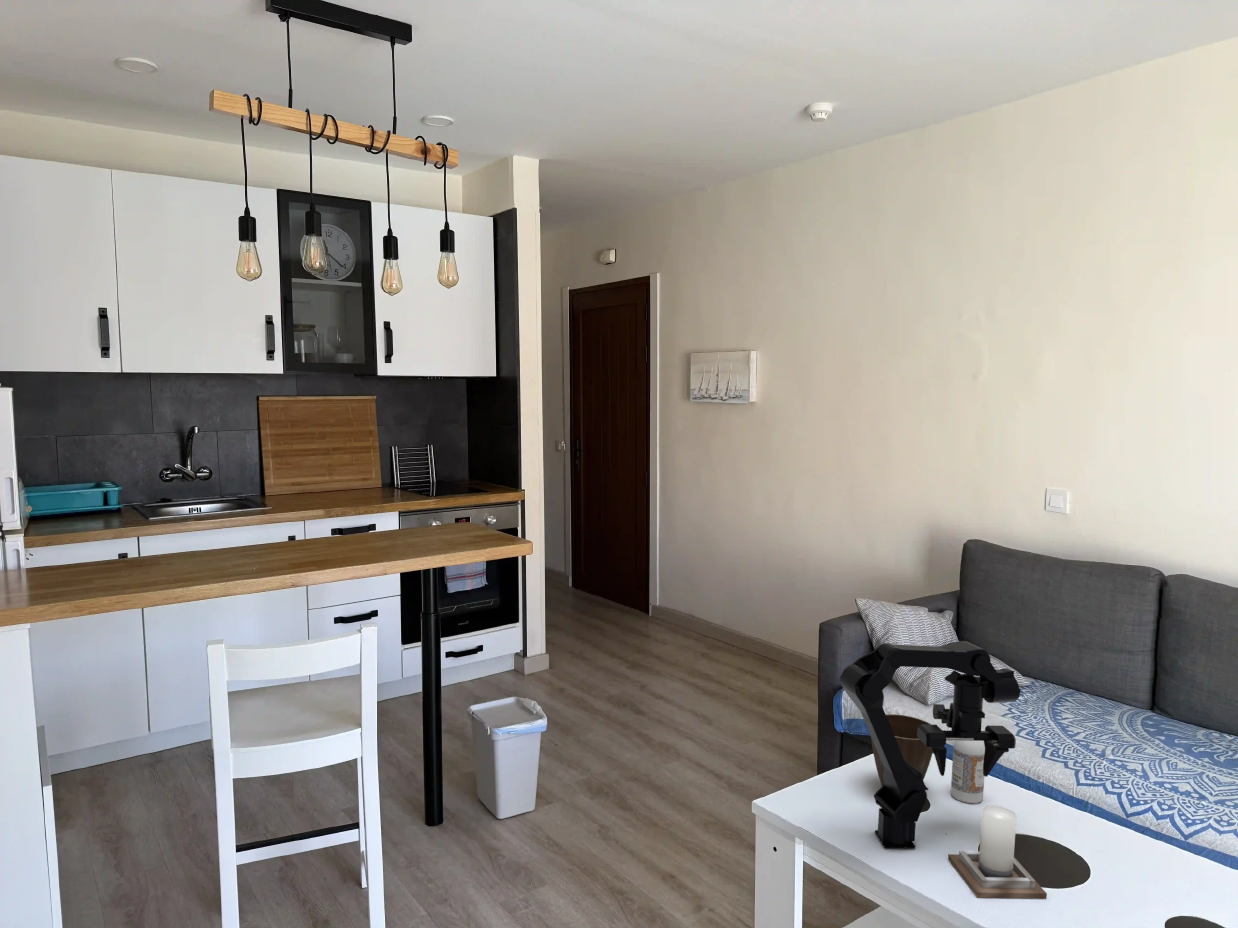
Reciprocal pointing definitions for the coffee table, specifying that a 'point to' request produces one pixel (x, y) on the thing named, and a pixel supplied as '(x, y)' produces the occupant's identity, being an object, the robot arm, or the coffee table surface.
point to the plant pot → (906, 744)
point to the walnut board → (995, 879)
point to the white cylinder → (997, 842)
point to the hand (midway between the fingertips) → (963, 775)
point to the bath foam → (968, 771)
